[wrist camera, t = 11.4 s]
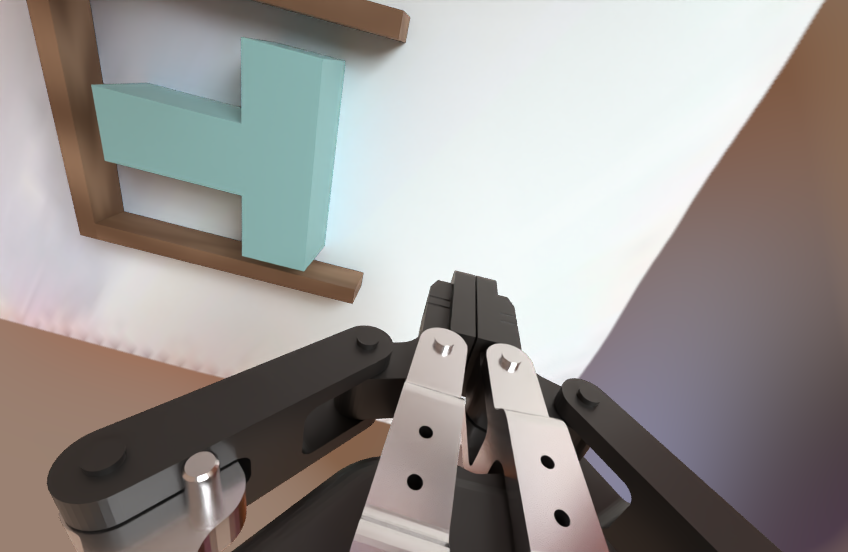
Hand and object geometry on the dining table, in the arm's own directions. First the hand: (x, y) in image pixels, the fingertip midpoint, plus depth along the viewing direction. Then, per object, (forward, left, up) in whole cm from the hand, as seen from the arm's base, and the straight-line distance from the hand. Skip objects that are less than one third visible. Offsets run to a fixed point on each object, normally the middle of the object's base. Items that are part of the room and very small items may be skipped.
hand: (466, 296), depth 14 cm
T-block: (0, -15, -13) cm, 19 cm away
